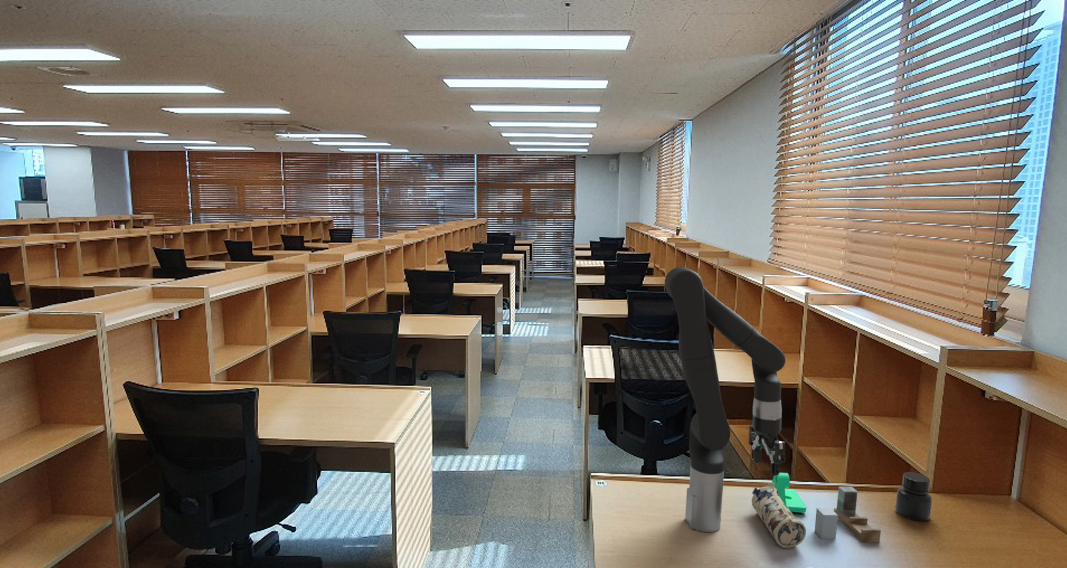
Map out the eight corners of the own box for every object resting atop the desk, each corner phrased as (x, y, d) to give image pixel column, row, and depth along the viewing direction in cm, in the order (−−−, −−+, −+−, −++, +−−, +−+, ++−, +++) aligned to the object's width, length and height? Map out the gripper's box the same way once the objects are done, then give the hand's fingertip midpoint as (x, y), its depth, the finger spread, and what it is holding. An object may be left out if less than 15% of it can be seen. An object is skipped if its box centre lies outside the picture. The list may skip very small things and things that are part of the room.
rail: (861, 541, 166) (864, 511, 165) (833, 514, 181) (836, 485, 180) (879, 542, 166) (882, 511, 165) (849, 514, 181) (852, 486, 180)
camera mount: (806, 516, 180) (809, 483, 178) (780, 514, 180) (783, 481, 179) (793, 497, 192) (796, 466, 190) (769, 495, 192) (771, 464, 191)
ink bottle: (938, 520, 179) (942, 482, 177) (916, 524, 176) (920, 486, 174) (908, 504, 188) (912, 468, 186) (887, 508, 185) (891, 471, 184)
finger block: (821, 538, 167) (823, 515, 166) (814, 530, 171) (816, 507, 170) (835, 538, 167) (837, 515, 166) (828, 531, 171) (830, 507, 170)
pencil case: (748, 511, 182) (751, 480, 181) (777, 512, 182) (779, 481, 180) (775, 552, 160) (777, 517, 159) (807, 553, 160) (810, 519, 159)
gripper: (741, 406, 175) (740, 459, 177) (769, 424, 161) (768, 481, 163) (764, 404, 176) (763, 456, 178) (794, 421, 162) (793, 477, 165)
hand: (765, 468), depth 171 cm, fingers open, 8 cm apart
